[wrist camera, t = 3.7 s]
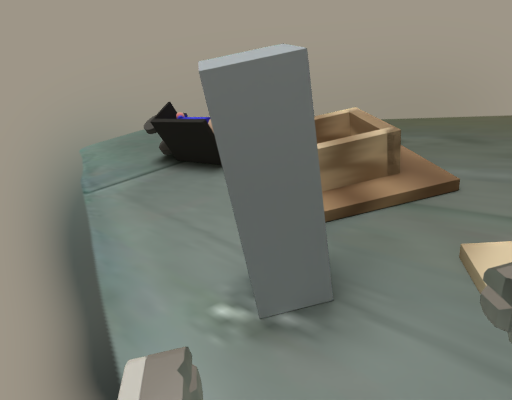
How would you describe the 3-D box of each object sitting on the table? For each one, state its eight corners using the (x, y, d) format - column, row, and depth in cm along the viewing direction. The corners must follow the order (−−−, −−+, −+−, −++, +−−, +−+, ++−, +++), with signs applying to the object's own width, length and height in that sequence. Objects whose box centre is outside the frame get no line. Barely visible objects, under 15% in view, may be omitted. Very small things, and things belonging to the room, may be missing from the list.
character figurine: (182, 148, 54) (259, 156, 45) (144, 164, 49) (223, 176, 40) (170, 97, 51) (251, 94, 42) (128, 108, 45) (211, 108, 37)
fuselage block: (311, 255, 25) (282, 43, 18) (333, 300, 21) (307, 48, 14) (249, 271, 24) (198, 61, 18) (259, 318, 20) (198, 71, 14)
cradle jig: (372, 136, 43) (371, 95, 40) (458, 189, 29) (464, 131, 26) (246, 165, 42) (237, 125, 40) (270, 235, 28) (259, 179, 25)
